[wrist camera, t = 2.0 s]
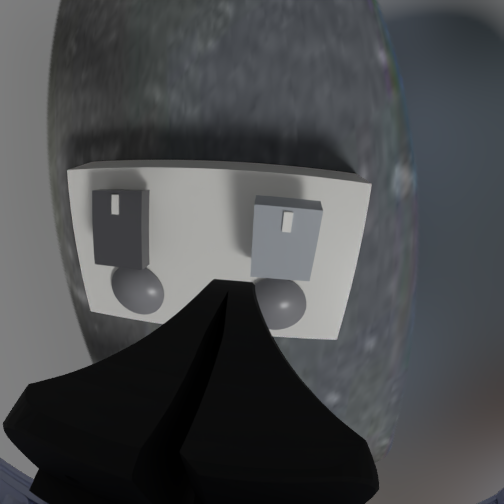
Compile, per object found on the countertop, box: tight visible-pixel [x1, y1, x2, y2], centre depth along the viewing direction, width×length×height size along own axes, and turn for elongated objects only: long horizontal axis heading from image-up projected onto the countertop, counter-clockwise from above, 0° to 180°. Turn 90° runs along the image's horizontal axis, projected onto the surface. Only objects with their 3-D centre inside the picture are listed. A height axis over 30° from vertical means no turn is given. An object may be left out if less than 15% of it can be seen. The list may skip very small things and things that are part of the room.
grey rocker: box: [250, 195, 323, 281], centre depth 14 cm, size 4×3×1 cm
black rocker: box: [92, 189, 150, 270], centre depth 15 cm, size 4×3×1 cm
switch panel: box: [67, 160, 372, 340], centre depth 18 cm, size 10×17×3 cm, turn 87°
